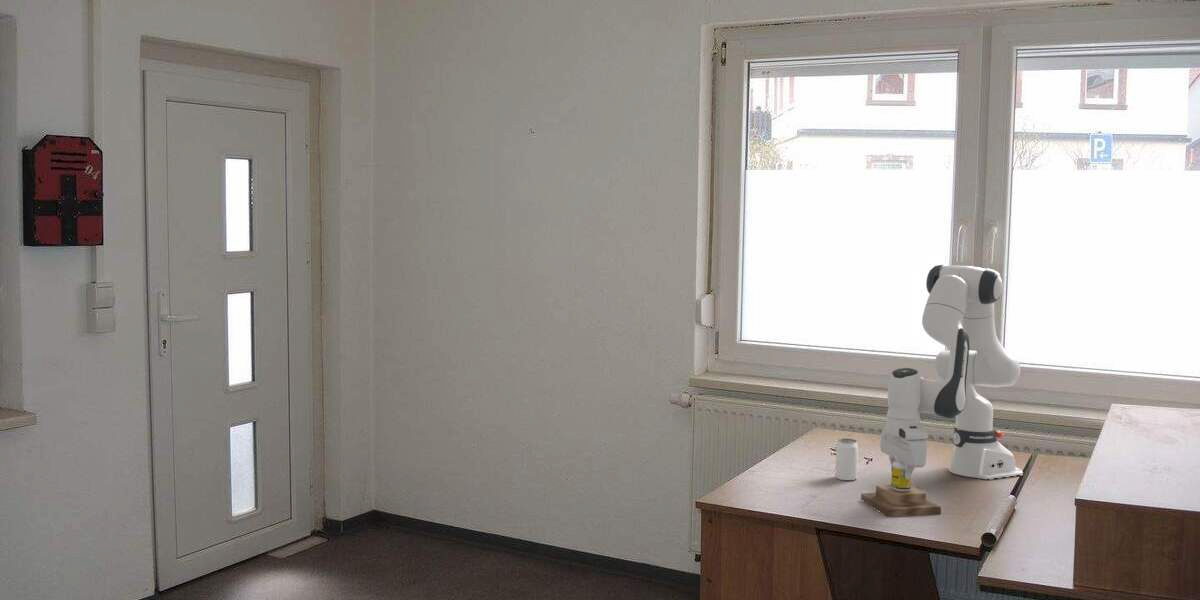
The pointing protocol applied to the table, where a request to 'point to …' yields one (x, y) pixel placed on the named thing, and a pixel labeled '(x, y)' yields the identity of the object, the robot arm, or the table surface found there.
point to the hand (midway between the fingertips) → (901, 475)
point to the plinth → (900, 509)
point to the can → (846, 459)
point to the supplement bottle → (899, 477)
